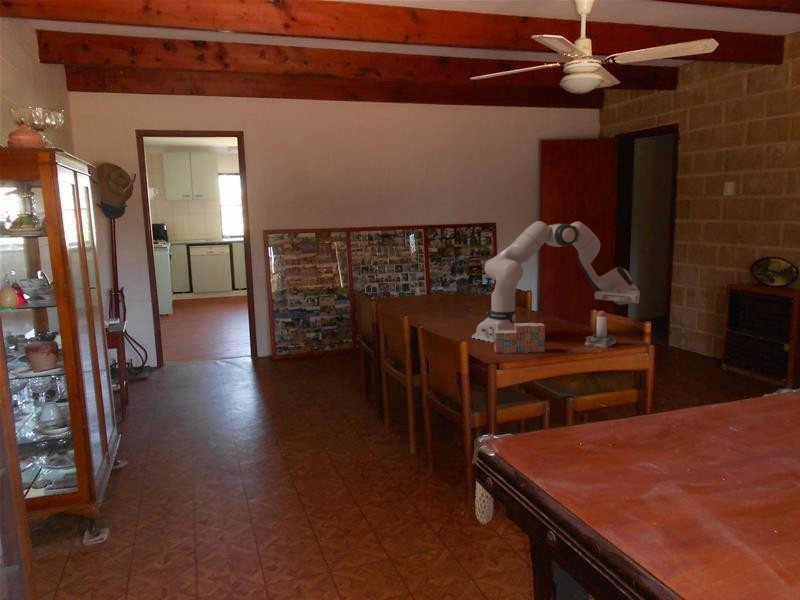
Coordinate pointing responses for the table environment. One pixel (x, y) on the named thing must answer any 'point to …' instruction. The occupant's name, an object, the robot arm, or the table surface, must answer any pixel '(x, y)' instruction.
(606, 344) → the jig
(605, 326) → the fuselage
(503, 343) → the stack of blocks
